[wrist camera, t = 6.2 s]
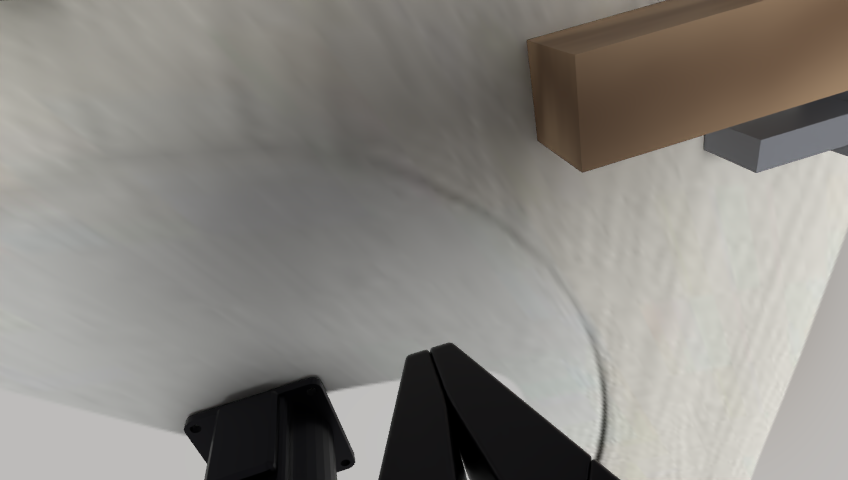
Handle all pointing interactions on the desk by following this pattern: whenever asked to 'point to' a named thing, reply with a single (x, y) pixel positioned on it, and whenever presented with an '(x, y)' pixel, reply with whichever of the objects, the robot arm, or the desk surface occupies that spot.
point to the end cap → (785, 135)
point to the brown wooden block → (681, 73)
